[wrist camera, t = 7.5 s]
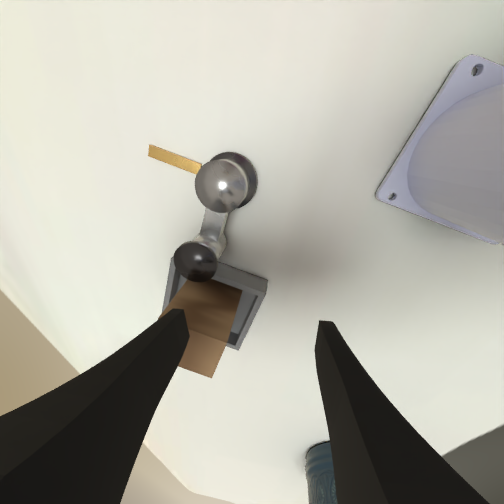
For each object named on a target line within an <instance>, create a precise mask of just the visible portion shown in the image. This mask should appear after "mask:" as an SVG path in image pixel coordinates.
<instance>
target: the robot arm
mask: <svg viewBox="0 0 504 504" xmlns="http://www.w3.org/2000/svg"><path fill="white" fill-rule="evenodd" d="M474 66H475V67H476V68H477V73H476V75H475V76H472V75H471V71H472V69H473V67H474ZM391 193H394V197H393V198H392V199H388V196H389V195H390V194H391ZM376 198H377V199H378V200H380V201H382V202H385V203H388V204H390V205H393V206H395V207H398V208H400V209H403V210H406V211H408V212H411V213H413V214H416V215H419V216H421V217H424V218H426V219H429V220H432V221H434V222H437V223H439V224H442V225H444V226H447V227H450V228H452V229H455V230H457V231H460V232H463V233H465V234H468V235H470V236H473V237H476V238H478V239H481V240H483V241H486V242H488V243H491V244H499V243H501V244H503V245H504V66H502V65H499V64H497V63H495V62H492V61H490V60H487V59H485V58H482V57H480V56H477V55H473V54H471V55H468V56H466V57H464V58H462V59H461V60H460V61H458V63H457V64H456V65H455V66H454V68H453V70H452V71H451V73H450V74H449V76H448V78H447V79H446V81H445V83H444V84H443V86H442V87H441V89H440V91H439V92H438V94H437V95H436V97H435V99H434V100H433V102H432V103H431V105H430V107H429V108H428V110H427V111H426V113H425V115H424V116H423V118H422V119H421V121H420V123H419V124H418V126H417V127H416V129H415V131H414V132H413V134H412V135H411V137H410V139H409V140H408V142H407V143H406V145H405V147H404V148H403V150H402V151H401V153H400V155H399V156H398V158H397V159H396V161H395V163H394V164H393V166H392V167H391V169H390V171H389V172H388V174H387V175H386V177H385V179H384V180H383V182H382V183H381V185H380V187H379V188H378V190H377V192H376ZM189 338H190V335H189V331H188V326H187V322H186V317H185V313H184V309H175V308H173V309H172V310H170V311H169V312H168V313H166V314H165V315H164V316H162V317H161V318H160V319H159V320H157V321H156V322H155V323H154V324H152V325H151V326H150V327H148V328H147V329H146V330H145V331H143V332H142V333H141V334H139V335H138V336H137V337H136V338H134V339H133V340H131V341H130V342H129V343H127V344H126V345H125V346H123V347H122V348H120V349H119V350H118V351H116V352H115V353H113V354H112V355H110V356H109V357H107V358H106V359H104V360H103V361H101V362H100V363H98V364H97V365H95V366H93V367H92V368H90V369H89V370H87V371H85V372H84V373H82V374H80V375H79V376H77V377H75V378H73V379H72V380H70V381H68V382H66V383H65V384H63V385H61V386H59V387H58V388H56V389H54V390H52V391H50V392H48V393H46V394H44V395H43V396H41V397H39V398H37V399H35V400H33V401H31V402H29V403H27V404H25V405H23V406H21V407H19V408H17V409H15V410H13V411H11V412H8V413H6V414H4V415H2V416H0V504H120V502H121V499H122V496H123V493H124V490H125V488H126V485H127V482H128V480H129V477H130V474H131V471H132V468H133V466H134V463H135V460H136V458H137V455H138V453H139V450H140V447H141V445H142V442H143V440H144V437H145V435H146V432H147V430H148V427H149V425H150V422H151V420H152V417H153V415H154V413H155V410H156V408H157V406H158V404H159V402H160V400H161V398H162V396H163V394H164V392H165V390H166V388H167V386H168V384H169V382H170V380H171V378H172V376H173V374H174V372H175V370H176V369H177V367H178V365H179V363H180V361H181V359H182V356H183V354H184V351H185V349H186V346H187V343H188V341H189ZM315 359H316V369H317V375H318V380H319V385H320V391H321V395H322V400H323V405H324V410H325V415H326V420H327V425H328V431H329V437H330V445H331V453H332V461H333V469H334V478H335V487H336V496H337V504H489V503H488V502H487V501H486V500H485V499H484V498H483V497H482V496H481V495H480V494H479V493H478V492H477V491H476V490H475V489H473V487H472V486H470V485H469V484H468V483H467V482H466V481H465V480H464V479H463V478H462V477H461V476H460V475H459V474H458V473H457V472H456V471H455V470H454V469H453V468H452V467H451V466H450V465H449V464H448V463H447V462H446V461H445V460H444V459H443V458H442V457H441V456H440V455H439V454H438V453H437V452H436V451H435V450H434V449H433V448H432V447H431V446H430V445H429V444H428V443H427V442H426V440H425V439H424V438H423V437H422V436H421V435H420V434H419V433H418V432H417V431H416V430H415V429H414V428H413V427H412V426H411V425H410V423H409V422H408V421H407V420H406V419H405V418H404V417H403V416H402V415H401V414H400V412H399V411H398V410H397V409H396V408H395V407H394V405H393V404H392V403H391V402H390V401H389V400H388V398H387V397H386V396H385V395H384V394H383V392H382V391H381V390H380V389H379V387H378V386H377V385H376V384H375V382H374V381H373V380H372V378H371V377H370V376H369V375H368V373H367V372H366V370H365V369H364V368H363V366H362V365H361V364H360V362H359V361H358V359H357V358H356V357H355V355H354V354H353V352H352V351H351V349H350V348H349V346H348V345H347V343H346V342H345V340H344V339H343V337H342V336H341V334H340V332H339V331H338V329H337V327H336V326H335V324H334V323H333V322H331V321H319V325H318V332H317V338H316V344H315Z"/></svg>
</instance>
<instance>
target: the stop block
mask: <svg viewBox="0 0 504 504" xmlns="http://www.w3.org/2000/svg"><path fill="white" fill-rule="evenodd" d="M242 291H243V290H241V289H238V288H235V287H232V286H230V285H227V284H224V283H222V282H219V281H216V280H214V279H210V280H208V281H206V282H193V281H190V280H188V279H187V281H186V282H185V283H184V285H183V286H182V287H181V289H180V290H179V291H178V293H177V294H176V295H175V297H174V298H173V299H172V301H171V302H170V303H169V305H168V306H167V307H166V309H165V310H164V311H163V312H162V314H161V315H160V316H159V318H158V320H159V319H160V318H161V317H162V316H164V315H165V314H166V313H168V312H169V311H170V310H172V309H173V308H175V309H184V313H185V317H186V322H187V326H188V331H189V335H190V338H189V341H188V343H187V346H186V349H185V351H184V354H183V356H182V359H181V361H180V363H179V365H178V366H179V367H182V368H184V369H187V370H190V371H193V372H196V373H198V374H201V375H204V376H207V377H210V378H212V376H213V374H214V372H215V369H216V367H217V365H218V363H219V360H220V358H221V356H222V353H223V351H224V349H225V346H226V344H227V341H228V338H229V334H230V331H231V328H232V324H233V321H234V318H235V314H236V311H237V308H238V304H239V301H240V298H241V294H242Z"/></svg>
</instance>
